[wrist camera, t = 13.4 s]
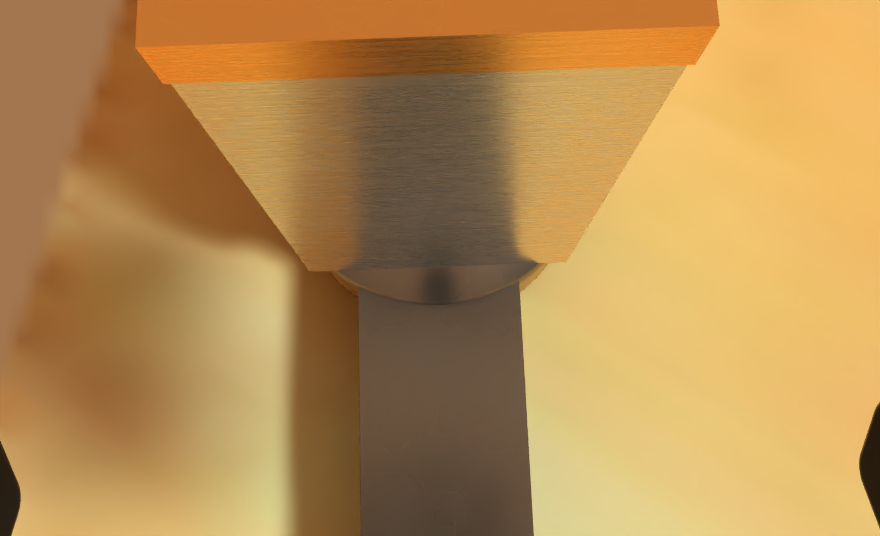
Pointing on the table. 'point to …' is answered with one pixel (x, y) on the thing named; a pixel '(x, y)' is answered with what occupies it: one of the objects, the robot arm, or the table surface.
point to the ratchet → (443, 400)
